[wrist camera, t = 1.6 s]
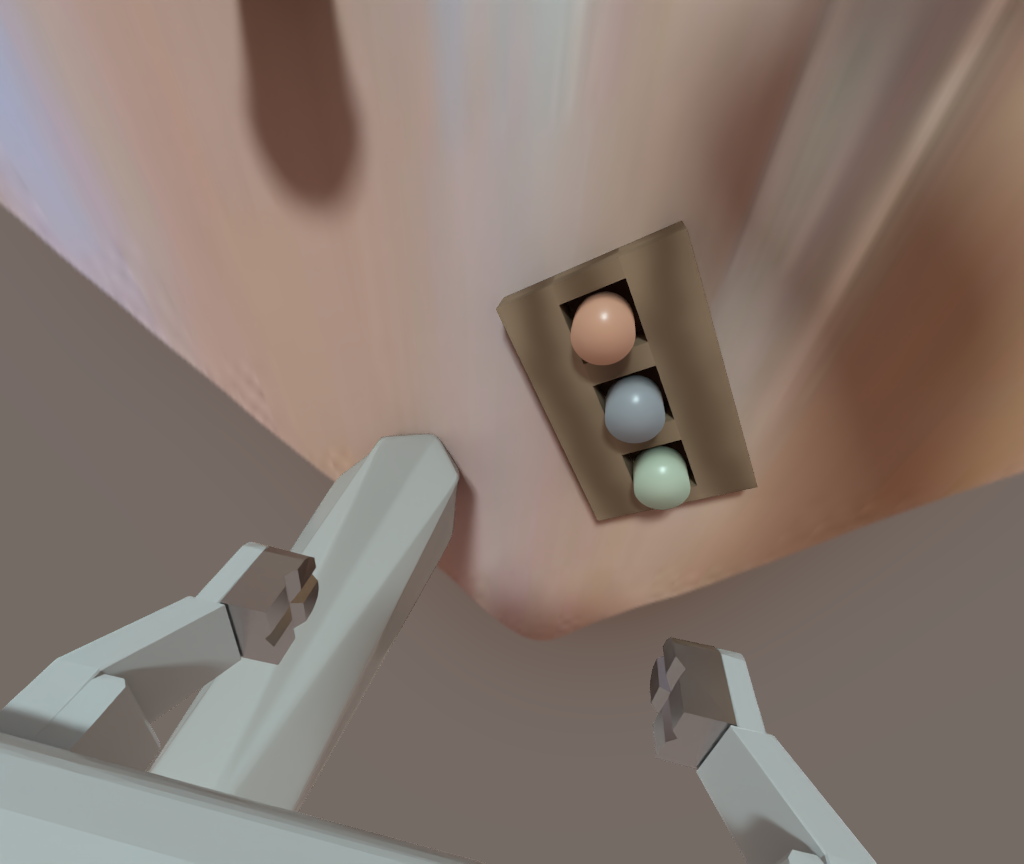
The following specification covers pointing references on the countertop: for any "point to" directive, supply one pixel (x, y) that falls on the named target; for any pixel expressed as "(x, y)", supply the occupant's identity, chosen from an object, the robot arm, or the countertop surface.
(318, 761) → the white faceted column
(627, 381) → the button grey
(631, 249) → the panel
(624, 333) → the button terracotta
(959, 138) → the countertop surface
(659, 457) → the button sage
